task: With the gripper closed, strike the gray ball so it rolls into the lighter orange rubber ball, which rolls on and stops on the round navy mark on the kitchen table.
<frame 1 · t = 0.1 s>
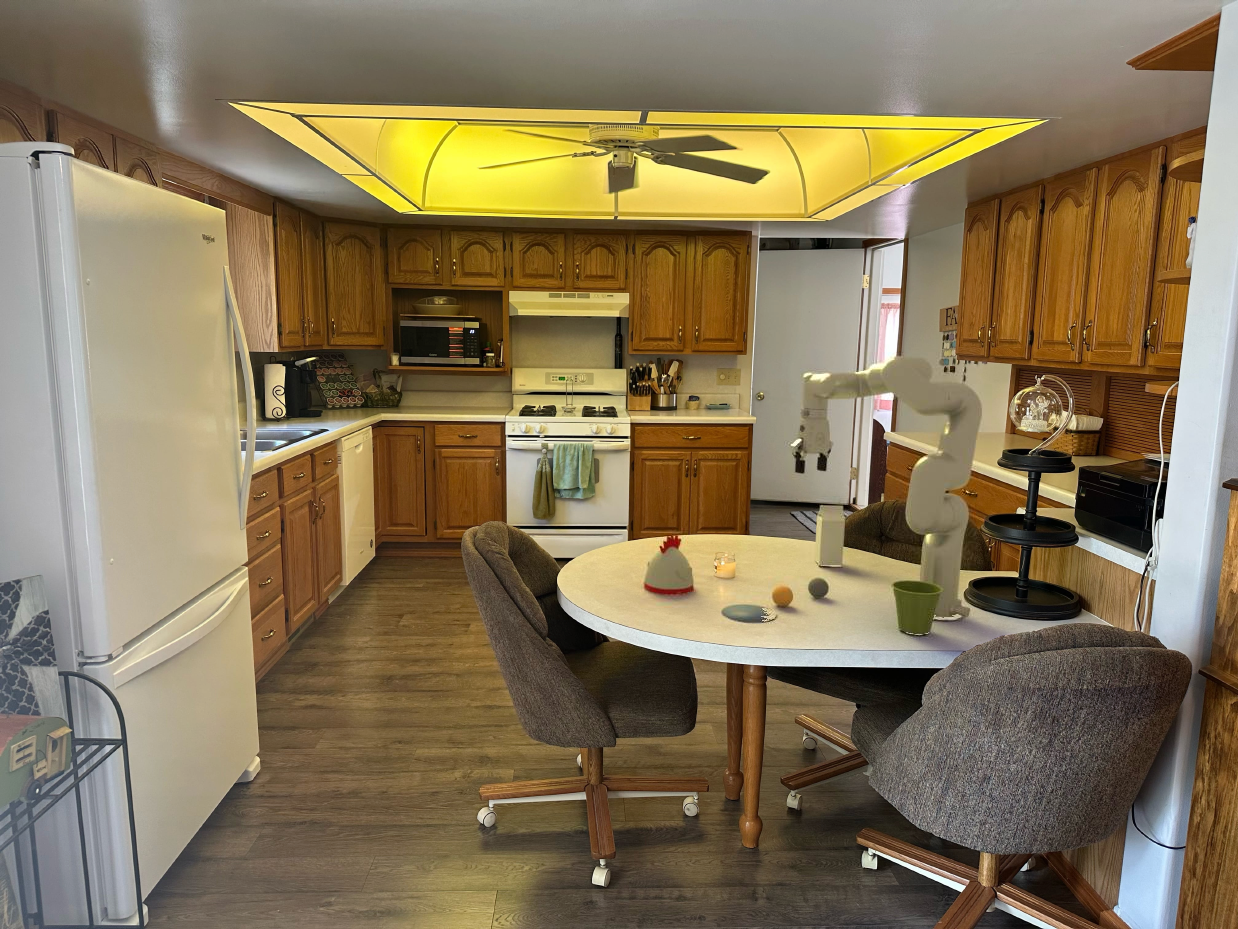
hand: (810, 471, 248), 31 cm above the table, tool pointing down, fingers open, 9 cm apart
gray ball: (818, 588, 228), on the table
plant pot: (913, 632, 202), on the table
object ball: (782, 596, 219), on the table
milk carton: (828, 565, 263), on the table
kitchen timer: (668, 588, 235), on the table
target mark: (749, 613, 213), on the table
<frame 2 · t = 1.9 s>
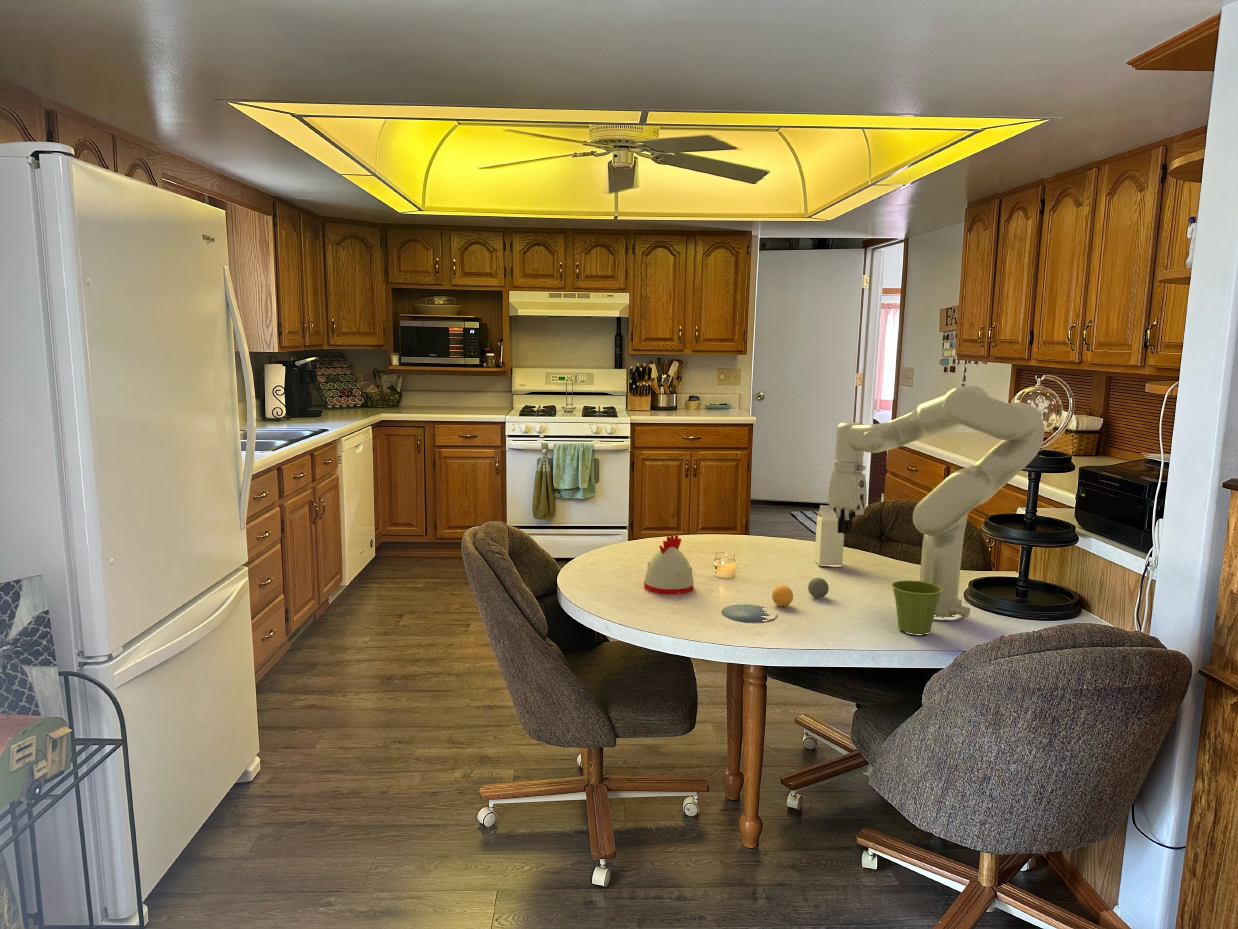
hand: (844, 532, 231), 17 cm above the table, tool pointing down, fingers closed
nothing on the table moved.
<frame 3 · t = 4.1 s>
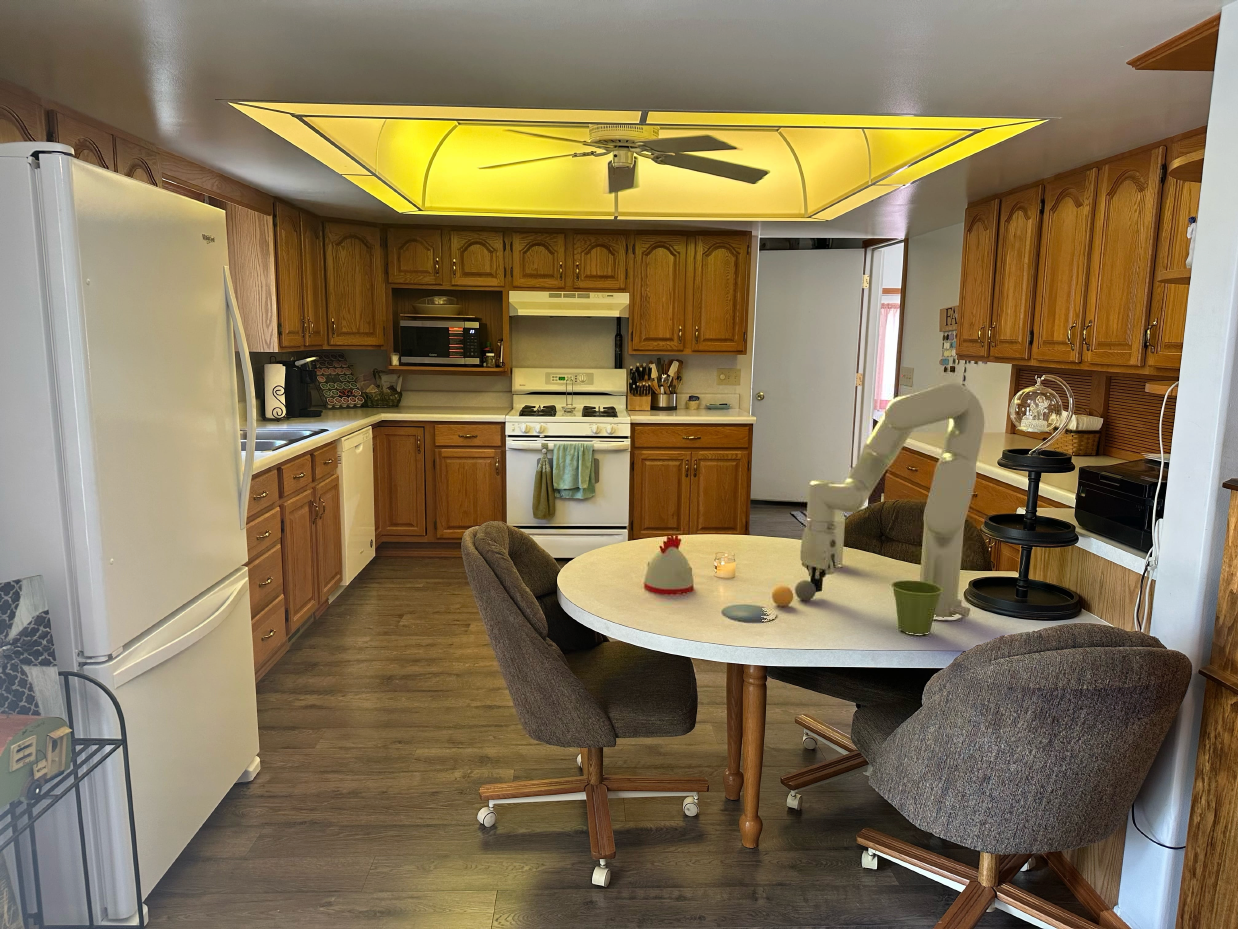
hand: (815, 591, 228), 2 cm above the table, tool pointing down, fingers closed
gray ball: (805, 590, 225), on the table
everything else where it was.
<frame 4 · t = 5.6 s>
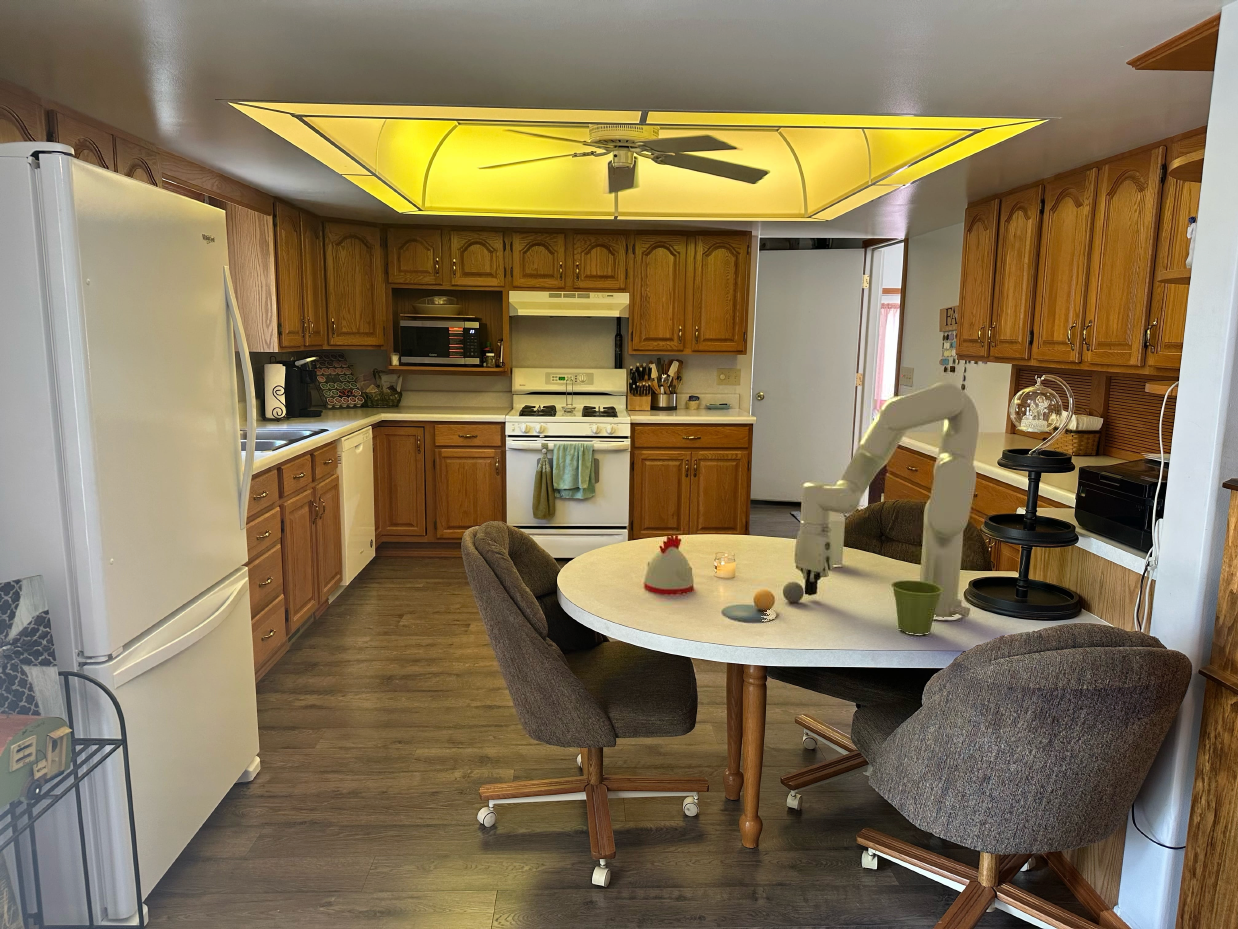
hand: (810, 594, 226), 2 cm above the table, tool pointing down, fingers closed
gray ball: (793, 592, 223), on the table
object ball: (764, 600, 216), on the table
everything else where it was.
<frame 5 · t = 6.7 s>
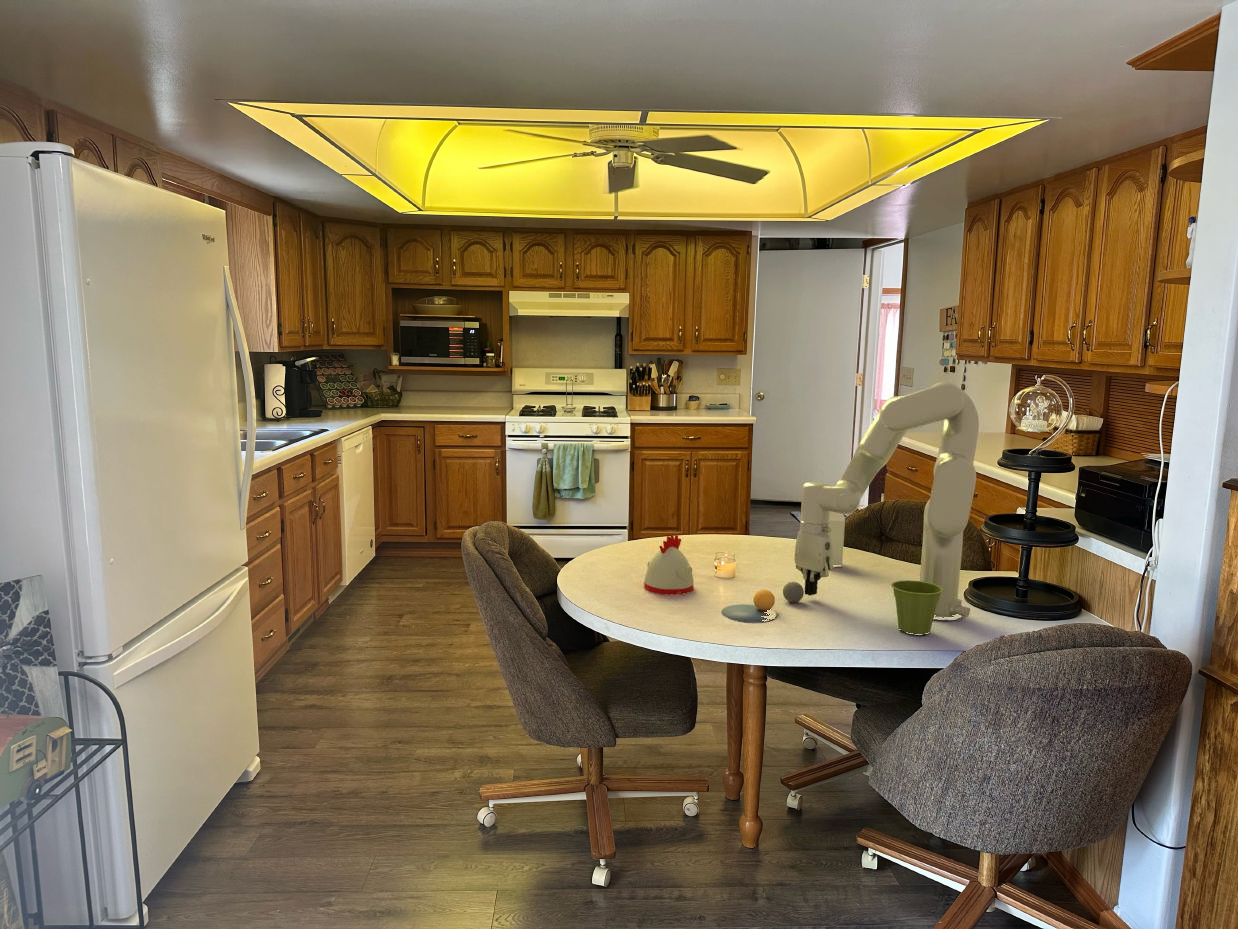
hand: (810, 594, 226), 2 cm above the table, tool pointing down, fingers closed
nothing on the table moved.
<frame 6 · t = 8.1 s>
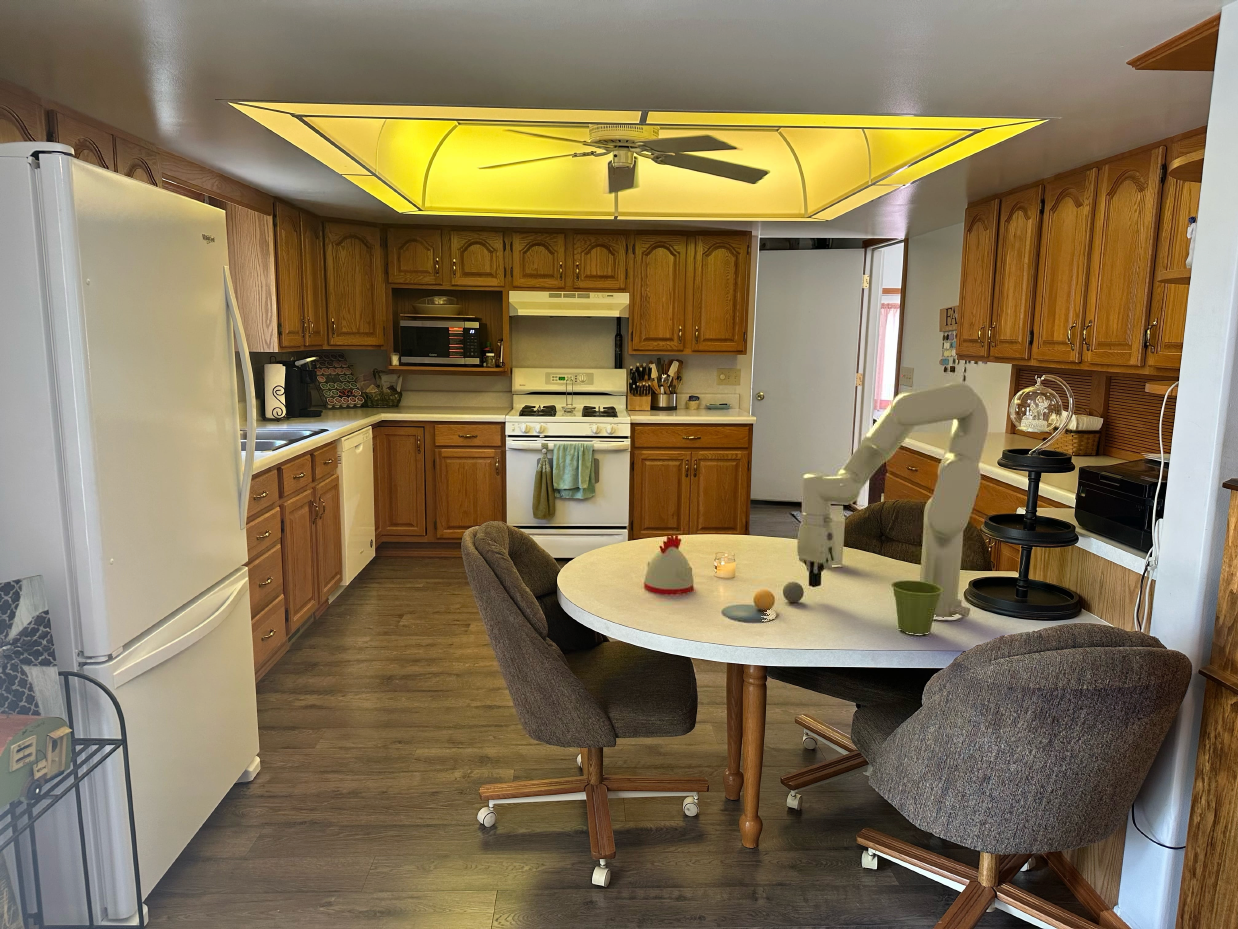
hand: (814, 585, 225), 4 cm above the table, tool pointing down, fingers closed
nothing on the table moved.
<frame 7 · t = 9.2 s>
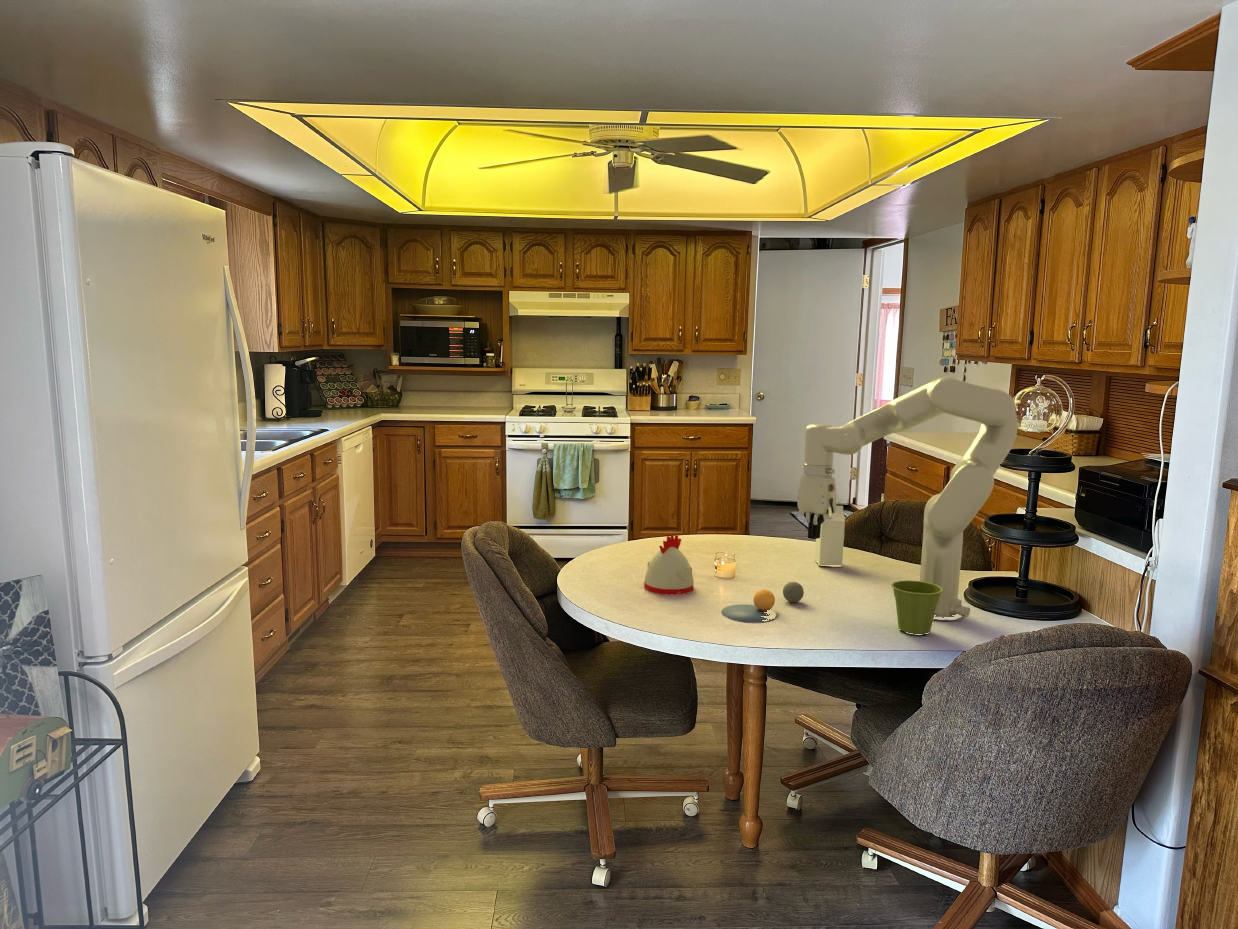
hand: (813, 538, 224), 17 cm above the table, tool pointing down, fingers closed
nothing on the table moved.
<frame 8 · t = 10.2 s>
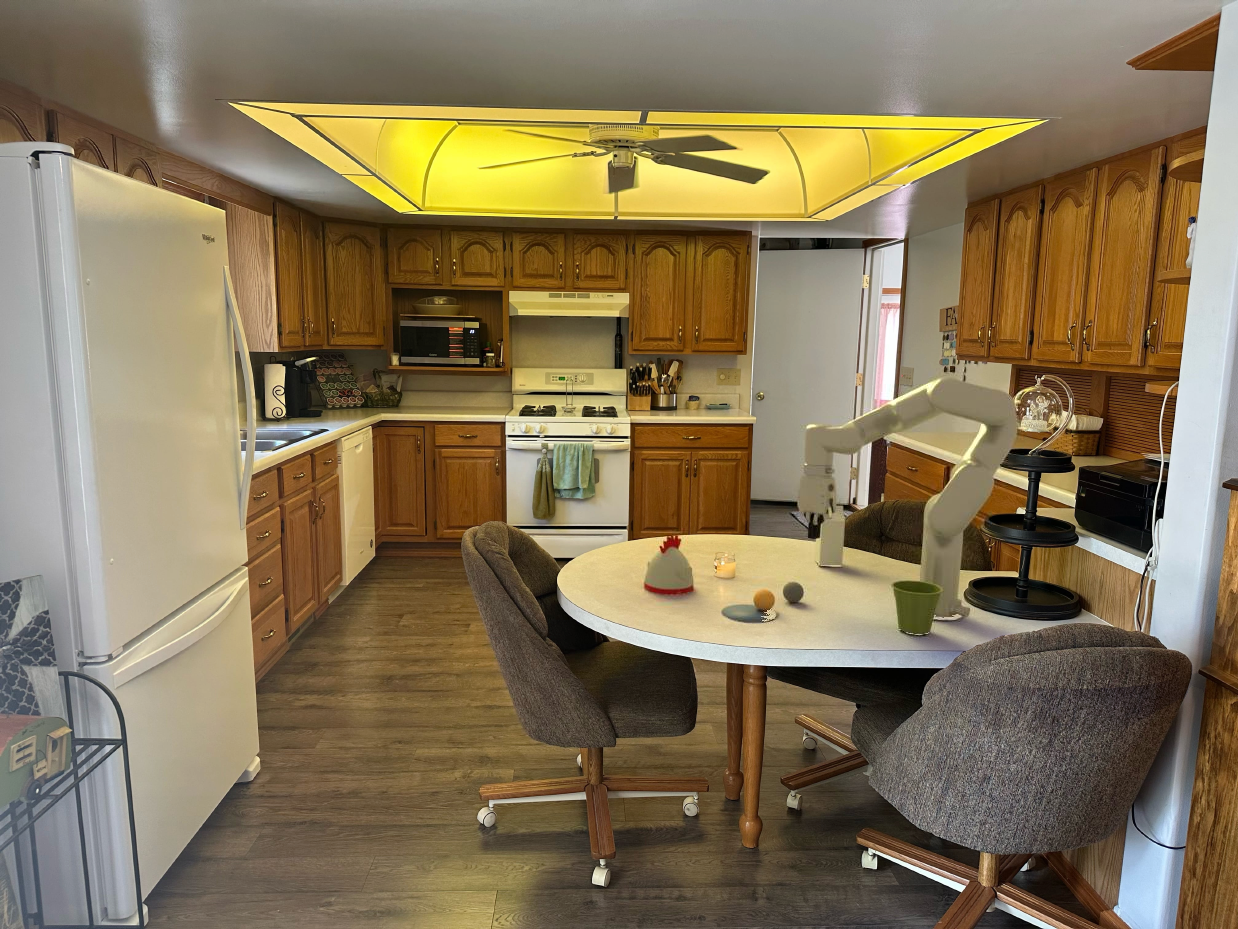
hand: (813, 538, 224), 17 cm above the table, tool pointing down, fingers closed
nothing on the table moved.
at the end: object ball 5.2 cm from the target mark (horizontally); object ball never touched the robot; gray ball first touched object ball at 4.3 s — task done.
